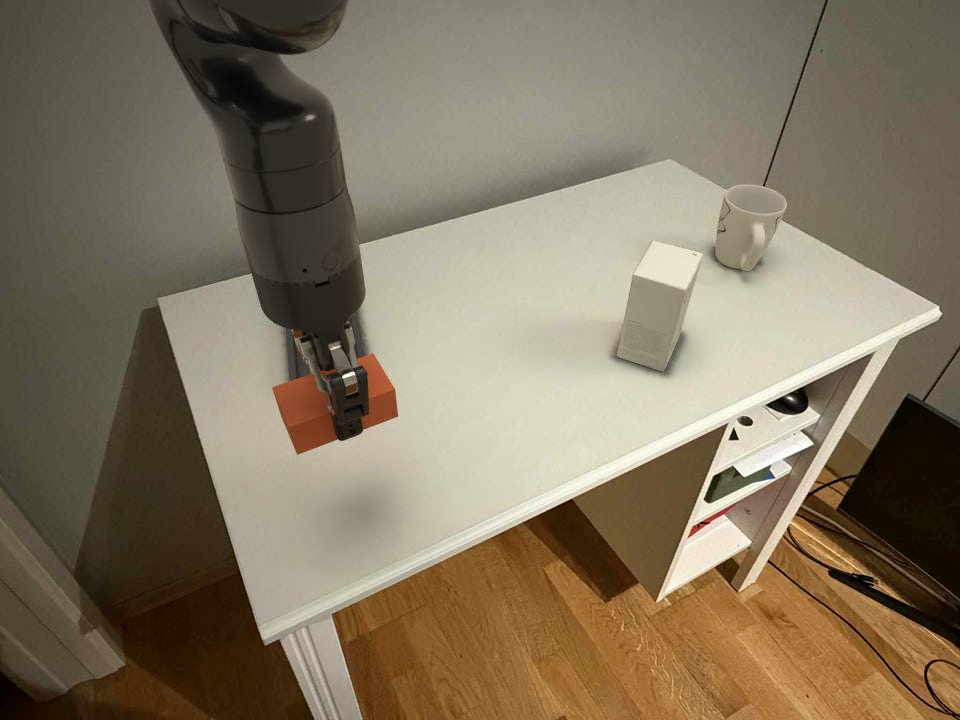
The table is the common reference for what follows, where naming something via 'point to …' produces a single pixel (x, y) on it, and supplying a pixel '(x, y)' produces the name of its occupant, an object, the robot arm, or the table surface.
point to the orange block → (309, 405)
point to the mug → (747, 224)
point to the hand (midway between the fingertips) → (338, 412)
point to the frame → (295, 359)
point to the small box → (658, 304)
